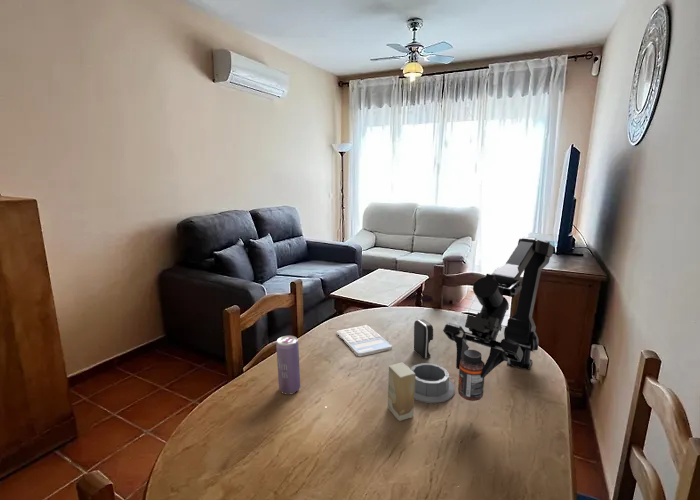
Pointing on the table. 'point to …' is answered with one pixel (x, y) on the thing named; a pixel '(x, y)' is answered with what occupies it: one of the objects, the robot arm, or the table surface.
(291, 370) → the beverage can
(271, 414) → the table surface
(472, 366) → the supplement bottle
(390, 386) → the skincare box
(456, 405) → the table surface
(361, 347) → the calculator
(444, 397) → the grey round holder
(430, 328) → the battery charger
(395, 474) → the table surface
